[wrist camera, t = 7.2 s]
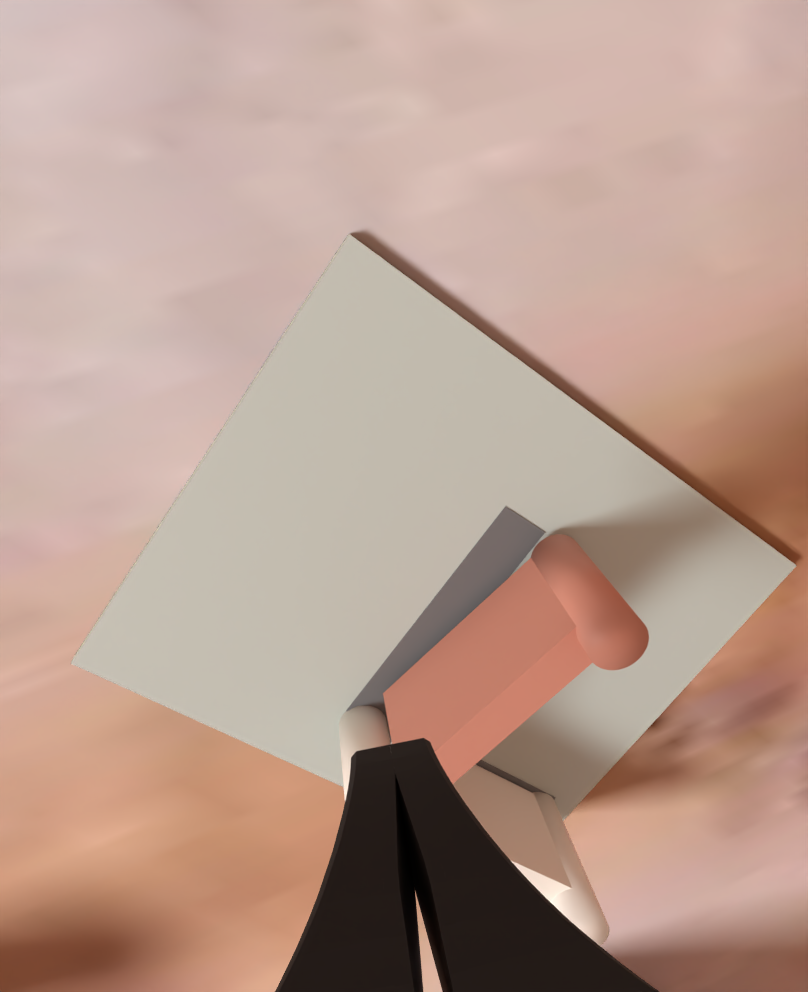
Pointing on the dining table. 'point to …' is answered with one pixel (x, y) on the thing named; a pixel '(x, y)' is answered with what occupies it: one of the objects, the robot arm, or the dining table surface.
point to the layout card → (412, 540)
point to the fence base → (504, 825)
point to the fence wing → (514, 655)
